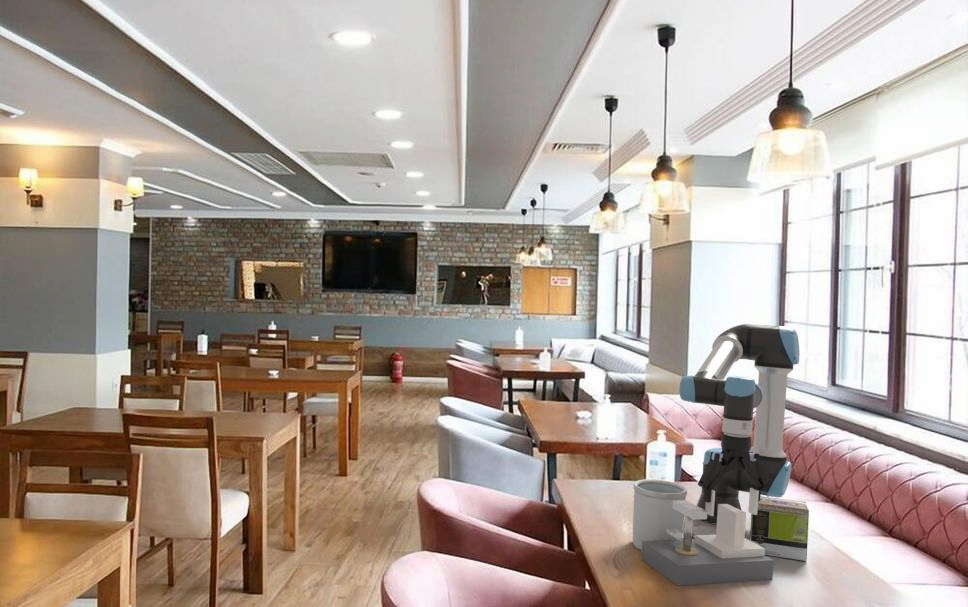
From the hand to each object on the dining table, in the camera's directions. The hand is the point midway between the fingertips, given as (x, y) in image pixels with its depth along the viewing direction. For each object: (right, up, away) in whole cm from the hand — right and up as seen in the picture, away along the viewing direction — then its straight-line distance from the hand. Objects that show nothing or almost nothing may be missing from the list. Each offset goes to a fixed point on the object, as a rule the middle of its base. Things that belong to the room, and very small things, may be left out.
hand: (731, 514), depth 196 cm
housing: (-7, -14, -2) cm, 16 cm away
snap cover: (0, -10, 0) cm, 10 cm away
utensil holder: (-17, -14, +14) cm, 26 cm away
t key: (-13, -8, -2) cm, 16 cm away
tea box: (+18, -16, +16) cm, 29 cm away
